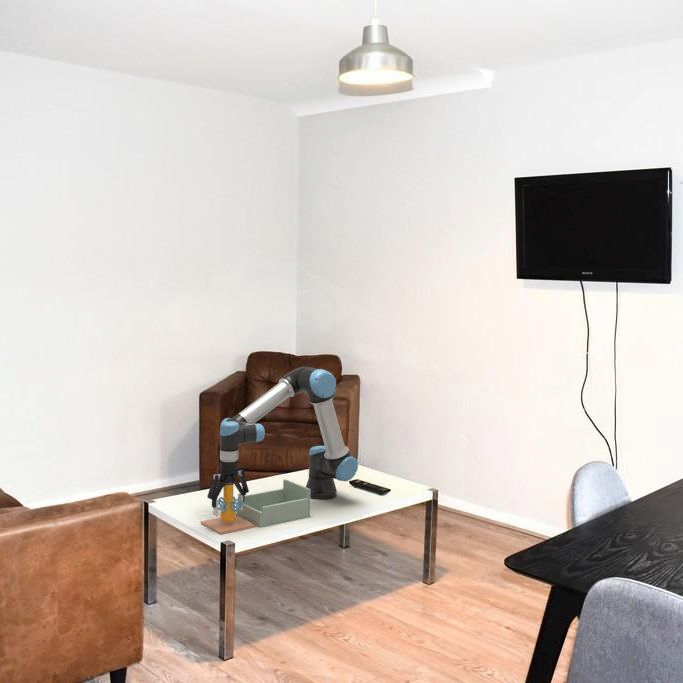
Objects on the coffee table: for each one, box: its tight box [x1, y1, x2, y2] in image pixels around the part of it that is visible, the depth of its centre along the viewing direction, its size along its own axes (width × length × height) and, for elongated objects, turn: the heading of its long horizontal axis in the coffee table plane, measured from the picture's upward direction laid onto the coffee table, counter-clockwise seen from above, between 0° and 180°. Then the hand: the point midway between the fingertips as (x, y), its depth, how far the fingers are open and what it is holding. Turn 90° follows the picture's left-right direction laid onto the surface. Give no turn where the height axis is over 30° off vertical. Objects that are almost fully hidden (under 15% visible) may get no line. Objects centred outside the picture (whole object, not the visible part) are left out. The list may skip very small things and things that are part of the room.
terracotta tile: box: [200, 514, 256, 535], centre depth 335 cm, size 16×16×1 cm
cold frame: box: [235, 479, 311, 528], centre depth 348 cm, size 25×18×12 cm
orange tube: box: [217, 482, 243, 522], centre depth 334 cm, size 12×10×15 cm
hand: (228, 512), depth 334 cm, fingers closed on orange tube, 11 cm apart
